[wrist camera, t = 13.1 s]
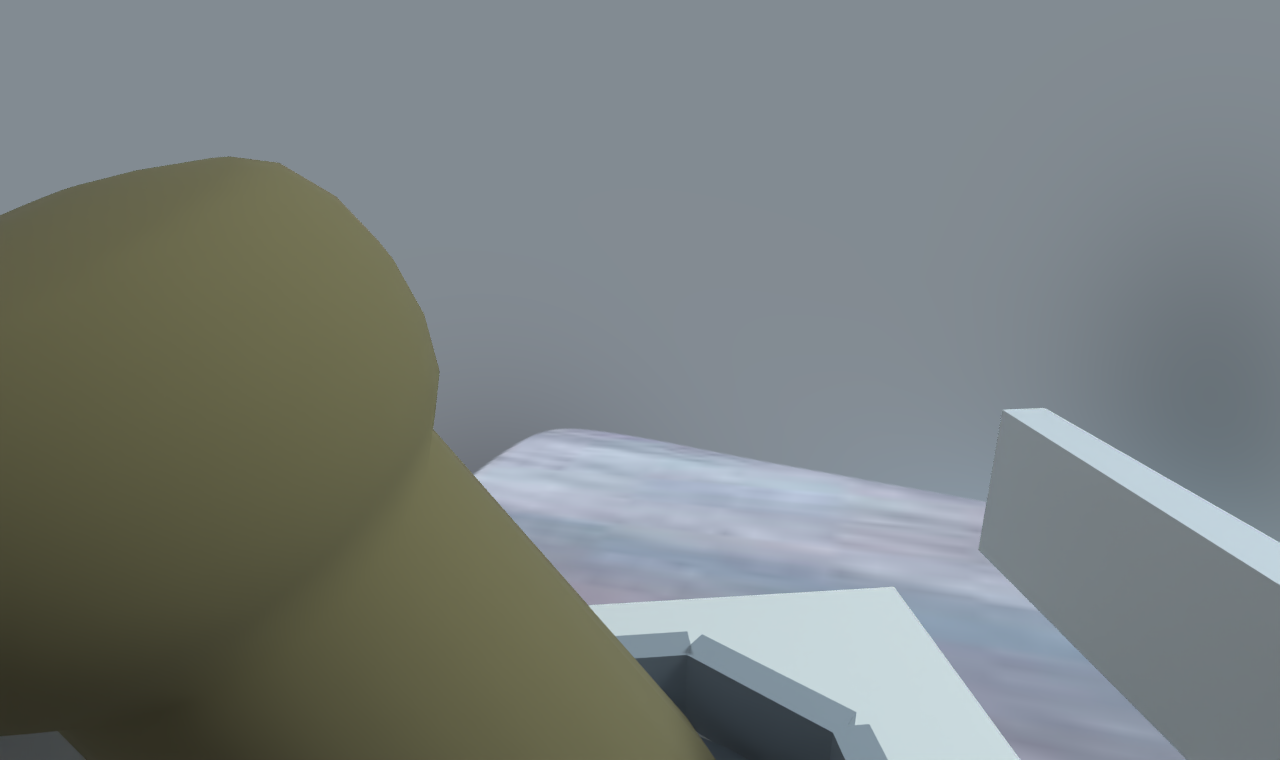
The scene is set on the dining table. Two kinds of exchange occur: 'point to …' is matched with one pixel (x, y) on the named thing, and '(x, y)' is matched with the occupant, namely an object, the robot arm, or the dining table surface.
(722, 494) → the dining table surface
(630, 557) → the dining table surface
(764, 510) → the dining table surface
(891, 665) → the base plate
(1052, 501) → the robot arm
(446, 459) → the cork
